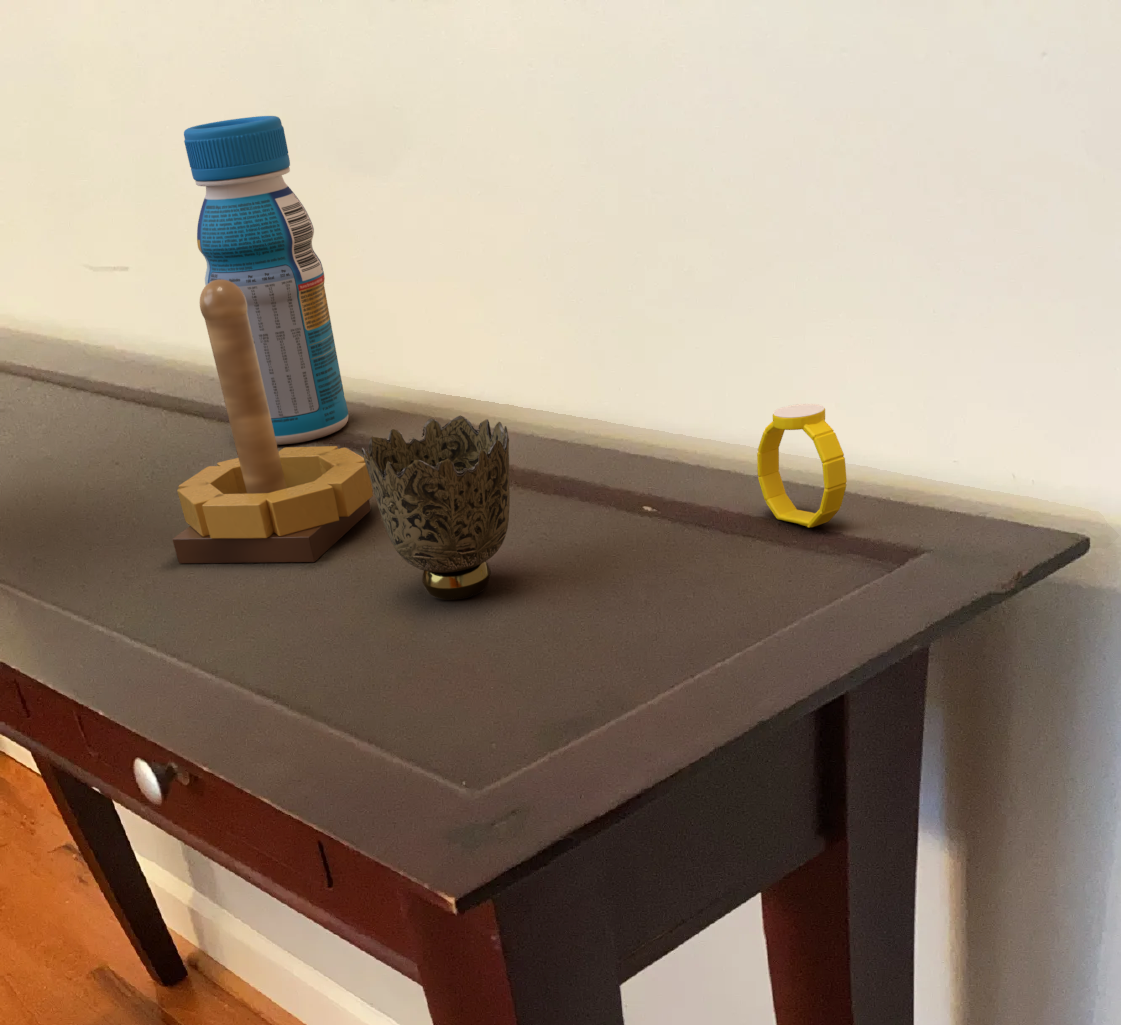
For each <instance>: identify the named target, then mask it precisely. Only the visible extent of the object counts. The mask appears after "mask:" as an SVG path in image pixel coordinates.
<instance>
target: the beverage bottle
mask: <svg viewBox="0 0 1121 1025" xmlns="http://www.w3.org/2000/svg"><path fill="white" fill-rule="evenodd" d="M183 138H184V141H183V143H184V145H185V151H186V156H187V160H188V163H189V167H190V172H191V175H192V178H193V180H194V181H195V185H196V186H198V187H205V196H204V198H203V201H202V205H201V208H200V212H199V216H198V221H197V226H196V227H197V230H196V241H197V242H196V243H197V244H196V245H197V249H198V250H199V252H200V253H201V255H202V256H203V257H204V259H205V262H206V270H205V275H204V285H205V286H206V285H207V284H208V283H210V282H212V281H214V280H218V279H224V280H228V281H231V282H233V283H234V284H236V285H237V286H238V287H239V288H240V289H241V291H242V292H243V294H244V296H245V298H246V301H247V314H248V318H249V323H250V327H251V332H252V336H253V340H254V345H255V349H256V354H257V358H258V363H259V367H260V372H261V376H262V380H263V385H264V389H265V394H266V398H267V403H268V407H269V412H270V416H271V421H272V425H273V429H274V434H275V438H276V443H277V446H281V445H282V446H283V445H292V444H299V443H305V442H309V441H315V440H317V439H321V438H324V437H327V436H330V435H332V434H334V433H337V432H338V431H340V430H342V428H344V427H345V426H346V425H347V422H348V421H349V416H350V415H349V409H348V404H347V399H346V397H345V391H344V386H343V380H342V375H341V370H340V364H339V360H338V353H337V348H336V344H335V337H334V332H333V326H332V321H331V316H330V309H329V304H328V300H327V294H326V288H325V272H324V267H323V264H322V261H321V259H320V258H319V256H318V255H317V253H316V252H315V249H314V248H313V238H314V234H315V228H314V225H313V223H312V219H311V218H310V216H309V213H308V211H307V210H306V208H305V207H304V204H303V203H302V202H301V200H300V199H299V198H298V197H297V195H296V194H295V192H294V191H293V190H292V189H291V187H290V186H288V184H287V183H286V182H285V179H284V178H283V176H284V175H287V174H288V173H290V172H291V169H290V166H291V160H290V155H289V149H288V144H287V138H286V134H285V128H284V126H283V123H282V120H281V118H280V117H279V116H276V115H259V116H249V117H248V116H247V117H242V118H232V119H226V120H225V119H224V120H219V121H214V122H208V123H207V122H206V123H202V124H198V125H193V126H190V127H188V128H186V129H185V130H184V131H183Z"/></svg>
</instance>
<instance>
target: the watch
mask: <svg viewBox="0 0 1121 1025" xmlns="http://www.w3.org/2000/svg"><path fill="white" fill-rule="evenodd" d="M800 430H802V431H803V432H804V433H805V434H806V435H807V436H808V437H809V438H810V440H812V442H813V444H814V447H815V449H816V452H817V454H818V456H819V459H820V461H821V464H822V478H823V487H824V489H823V493H822V497H821V501H820V505H819V508H818V510H817V511H816V512H811V511H806V510H802V509H797V507H796V506H795V505H794V503H793V501H792V500H791V499H790V497H789V496H788V494H787V493H786V489H785V486H784V482H783V479H782V476H781V473H780V445H781V442H782V440H783V437H784V434H785V431H800ZM756 455H757V456H756V461H757V462H756V466H757V470H756V472H757V479H758V483H759V486H760V489H761V493H762V497H763V499H764V501H765V503H766V505H767V506H768V509H769V510H770V511H771V512H772V514H773V516H774V517H775V518H776V520H778V521H782V522H783V521H784V522H789V523H794V524H798V525H800V526H805V527H806V528H814V527H818V526H820V525H822V524H825V523H829V522H830V521H831V520H832V519H833V517H834V516H835V515H836V514H837V513H838V512H839V511H840V509H841V507H842V505H843V501H844V497H845V492H846V488H847V482H848V480H847V468H846V457H845V454H844V450H843V449H842V446H841V443H840V441H839V439H838V436H837V434H836V432H835V430H834V429H833V428H832V427H831V425H829V423H827V421H826V408H825V406H823V405H822V404H816V403H800V404H798V403H797V404H792V405H791V404H790V405H786V406H782V407H779V408H777V409H775V410H774V411H773V412H772V421H771V422H770V423H769V424H768V425H766V427H765V428H764V430H763V432H762V434H761V438H760V441H759V444H758V448H757V452H756Z"/></svg>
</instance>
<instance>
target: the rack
mask: <svg viewBox="0 0 1121 1025" xmlns="http://www.w3.org/2000/svg"><path fill="white" fill-rule="evenodd" d="M199 309H200V313H201V315H202V317H203V319H204V323H205V326H206V329H207V335H208V339H209V343H210V347H211V351H212V355H213V356H212V357H213V359H214V364H215V367H216V372H217V376H218V380H219V384H220V390H221V392H222V396H223V401H224V405H225V408H226V413H227V417H228V421H229V425H230V430H231V433H232V438H233V442H234V446H235V450H236V453H237V458H238V459H239V463H240V467H241V471H242V475H243V479H244V483H245V488H246V492H247V494H256V493H271V492H275V491H278V490H282V489H286V488H287V487H286V483H285V478H284V474H283V469H282V465H281V461H280V456H279V447H278V445H277V443H276V438H275V434H274V429H273V425H272V421H271V416H270V412H269V407H268V403H267V398H266V394H265V389H264V385H263V380H262V376H261V372H260V367H259V363H258V358H257V354H256V349H255V345H254V340H253V336H252V332H251V327H250V323H249V318H248V314H247V301H246V298H245V296H244V294H243V292H242V291H241V289H240V288H239V287H238V286H237V285H236V284H234V283H233V282H231V281H228V280H224V279H218V280H214V281H212V282H210V283H208V284H207V285H205V286H204V287H203V289H202V291H201V292H200V296H199ZM371 510H372V508H371V503H370V499H369V500H367V501H366V502H365V503H364V504H363V505H362V506H360V507H359V508H358V509H357V510H356V511H354V512H353V513H352V514H351V515H350V516H349V517H339V521H336V522H332V523H329V524H325V525H321V526H317V527H314V528H310V529H306V530H302V531H299V532H295V533H291V534H288V535H284V536H278V535H277V534H276V533H273V534H272V535H271V536H269V537H268V538H230V539H212V538H210V535H209V536H205V537H202V536H201V535H200V534H199V533H198V532H197V531H196V530H195V529H193V528H192V527H191V526H190V525H189V526H188V527H187V528H185V529H184V530H182V531H181V532H180V533H178V534H177V535H176V536H174V537H172V544H173V547H174V550H175V554H176V558H177V561H178V563H179V564H249V563H250V564H251V563H255V564H256V563H257V564H259V563H262V564H263V563H315V562H316V561H317V560H319V558H321V557H322V556H323V555H324V554H326V552H327V551H328V550H329V549H330V548H331V547H333V546H334V544H336V543H337V542H338V541H339V540H340V539H341V538H342V537H343V536H344V535H345V534H347V533H348V532H349V531H350V530H351V529H352V528H354V526H356V525H357V524H358V523H359V522H360V521H361V520H362V519H363V518H364V517H365V516H367V514H368V513H370V511H371Z"/></svg>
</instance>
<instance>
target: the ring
mask: <svg viewBox="0 0 1121 1025" xmlns="http://www.w3.org/2000/svg"><path fill="white" fill-rule="evenodd" d="M278 452H279V456H280V461H281V465H282V469H283V474H284V478H285V483H286V487H287V488H286V489H282V490H278V491H275V492H271V493H256V494H247V492H246V488H245V483H244V479H243V475H242V471H241V467H240V463H239V459H238V457H236V458H231V459H227V460H223V461H219V462H217V463H216V465H210V466H209V465H208V466H207V467H205V468H203V469H202V470H200V471H198V472H197V473H196V474H194V475H193V476H191V477H190V478H188V479H186V480H185V481H183V482H182V483H181V484H179V485H178V489H177V495H178V499H179V503H180V506H181V510H182V513H183V517H184V521H185V522H186V524H188V525H189V526H191V527H192V528H193V529H195V530H196V531H197V532H198V533H199V534H200V535H201V536H202V537H205V536H209V535H210V538H212V539H230V538H268V537H269V536H271V535H272V534H273V533H276V534H277V535H278V536H284V535H288V534H291V533H295V532H299V531H302V530H306V529H310V528H314V527H317V526H321V525H325V524H329V523H332V522H336V521H339V517H349V516H350V515H351V514H352V513H353V512H354V511H356V510H357V509H358V508H359V507H360V506H362V505H363V504H364V503H365V502H366V501H367V500H369V501H370V499H371V498H372V497H374V490H373V487H372V484H371V480H370V477H369V474H368V470H367V467H366V464H365V460H364V457H363V456H361V455H359V454H358V453H356V452H354V451H352V450H351V449H350V448H347V447H341V448H339V446H337V445H328V446H290V447H287V446H286V447H283V448H281V449H280V450H278Z"/></svg>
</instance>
